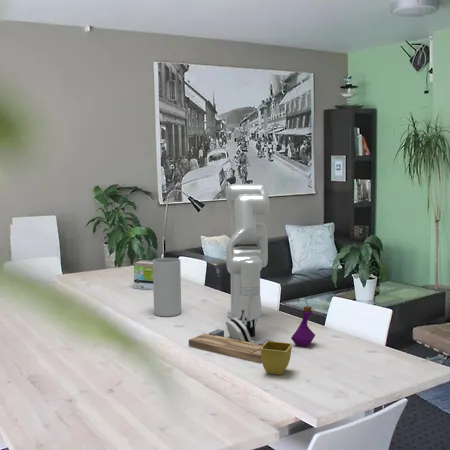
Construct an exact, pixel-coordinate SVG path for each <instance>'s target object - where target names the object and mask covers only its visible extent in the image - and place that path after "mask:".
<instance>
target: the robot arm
mask: <svg viewBox="0 0 450 450" xmlns="http://www.w3.org/2000/svg"><path fill="white" fill-rule="evenodd" d="M225 199H226V203H227V205H228V207H229V211H230V216H231V217H230V219H231V221H230V223H231V226H230V227H231V229H230V231H231V237H230V238H229V241H228V242H227V244H226V249H225V258H226V259H225V261H226V263H225V264H226V270H227V272H228V273H229V274H230V311H228V312H227V318H229V319H233V318H237V319H238V320H240V321H241V322H242V323H243V324H244V325H245V327H246V328H247V330H248V332H249V335H250V337H251V339H252V338H255V337H256V326H257V321H258V320H259V319H260V317H261V315H262V299H261V271H262V270H263V268H265V267H266V266H267V265H268V257H269V254H268V253H269V251H268V250H269V249H268V247H269V245H268V244H269V241H268V229H267V226H266V224H265V223H264V222H258V221H257V220H256V219H257V215H267V214H268V213H269V211H270V198H269V194H268V192H267V189H266V185H264V184H262V183H234V184H229V185H228V186H227V187H226V188H225ZM236 244H237V245H238V244H239V245H241V244H242V245H243V244H244V245H245V244H250V245H251V244H252V245H257V246H235V245H236Z"/></svg>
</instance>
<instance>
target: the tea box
mask: <svg viewBox="0 0 450 450" xmlns="http://www.w3.org/2000/svg"><path fill="white" fill-rule="evenodd" d="M133 286H134V287H133V288H134V289H135V290H137V289H141V290H152V291H154V287H153V260H146V259H141V260H139V261H136V262H134V263H133Z"/></svg>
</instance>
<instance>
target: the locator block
mask: <svg viewBox="0 0 450 450" xmlns="http://www.w3.org/2000/svg"><path fill="white" fill-rule="evenodd" d="M208 334H210V335H215V336H221V337H225V330H224V329H215V330H213V331H210V332H209V333H208Z"/></svg>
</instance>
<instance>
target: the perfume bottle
mask: <svg viewBox="0 0 450 450" xmlns="http://www.w3.org/2000/svg"><path fill="white" fill-rule="evenodd" d="M300 301H303V302H305V304H306V306H304V307H303V310H302V311H301V314H303V317H302V320H301V322H300V323H299V326H298V327H297V328H296V330H295V332H294V333H293V335H292V336H291V337H290V339H291V340H292V341H293V343H294V344H295V346H297V347H303V348H304V347H305V348H307V347H308V346H310V344H312V341H314V338H315V337H316V334H315V333H314V332H313V331H312V330H311V328H309V325H308V320H309V317H310V316H311V315H313V311H312V306H309V304H308V300H307V299H306V298H305V297H302V298H299V299H298V301H297V304H299V303H300Z"/></svg>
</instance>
